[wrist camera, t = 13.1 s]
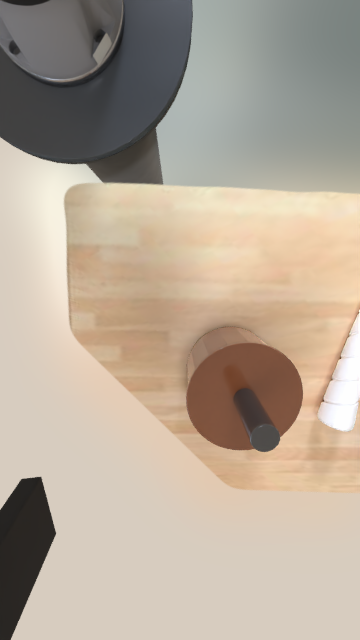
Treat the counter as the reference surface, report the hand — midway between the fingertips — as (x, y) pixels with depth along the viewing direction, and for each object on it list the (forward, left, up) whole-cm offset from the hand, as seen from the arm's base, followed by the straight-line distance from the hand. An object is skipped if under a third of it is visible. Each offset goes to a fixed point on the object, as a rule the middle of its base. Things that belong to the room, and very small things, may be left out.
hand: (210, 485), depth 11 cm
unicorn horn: (+8, +24, -31) cm, 40 cm away
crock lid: (+8, +6, -21) cm, 23 cm away
